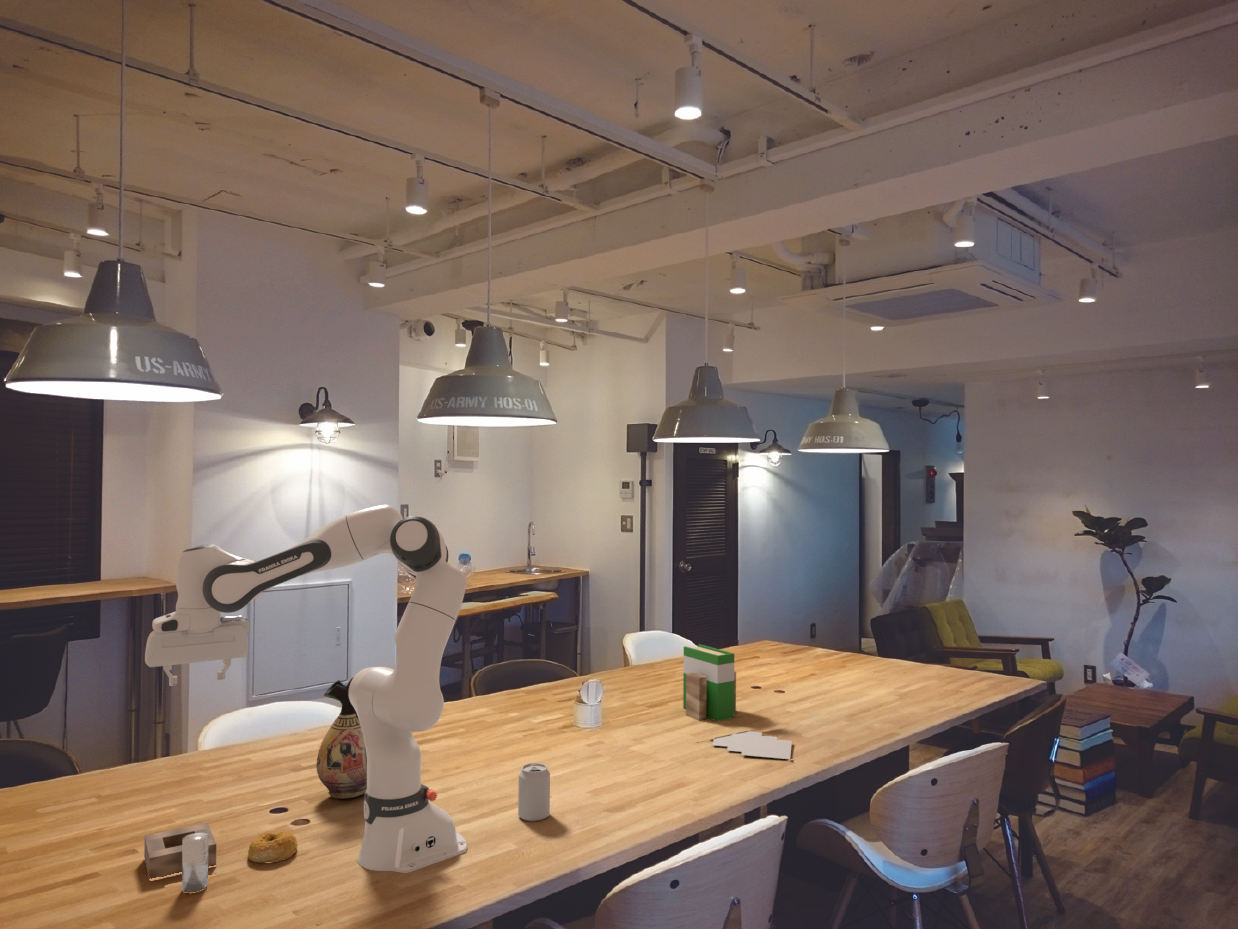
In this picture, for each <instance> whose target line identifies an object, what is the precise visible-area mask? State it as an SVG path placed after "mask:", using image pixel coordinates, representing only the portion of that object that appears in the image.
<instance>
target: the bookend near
mask: <svg viewBox="0 0 1238 929" xmlns="http://www.w3.org/2000/svg"><path fill="white" fill-rule="evenodd" d="M706 681H707V677H706V676H703V675H700V674H697V673H694V672H692V673H686V709H685V716H687V717H690V718H692V719H695V720H697V721H703V720H706V719H707V717H706Z"/></svg>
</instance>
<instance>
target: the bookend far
mask: <svg viewBox="0 0 1238 929" xmlns="http://www.w3.org/2000/svg"><path fill="white" fill-rule="evenodd" d="M736 711H737V671H735V670H734V714H736Z"/></svg>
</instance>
